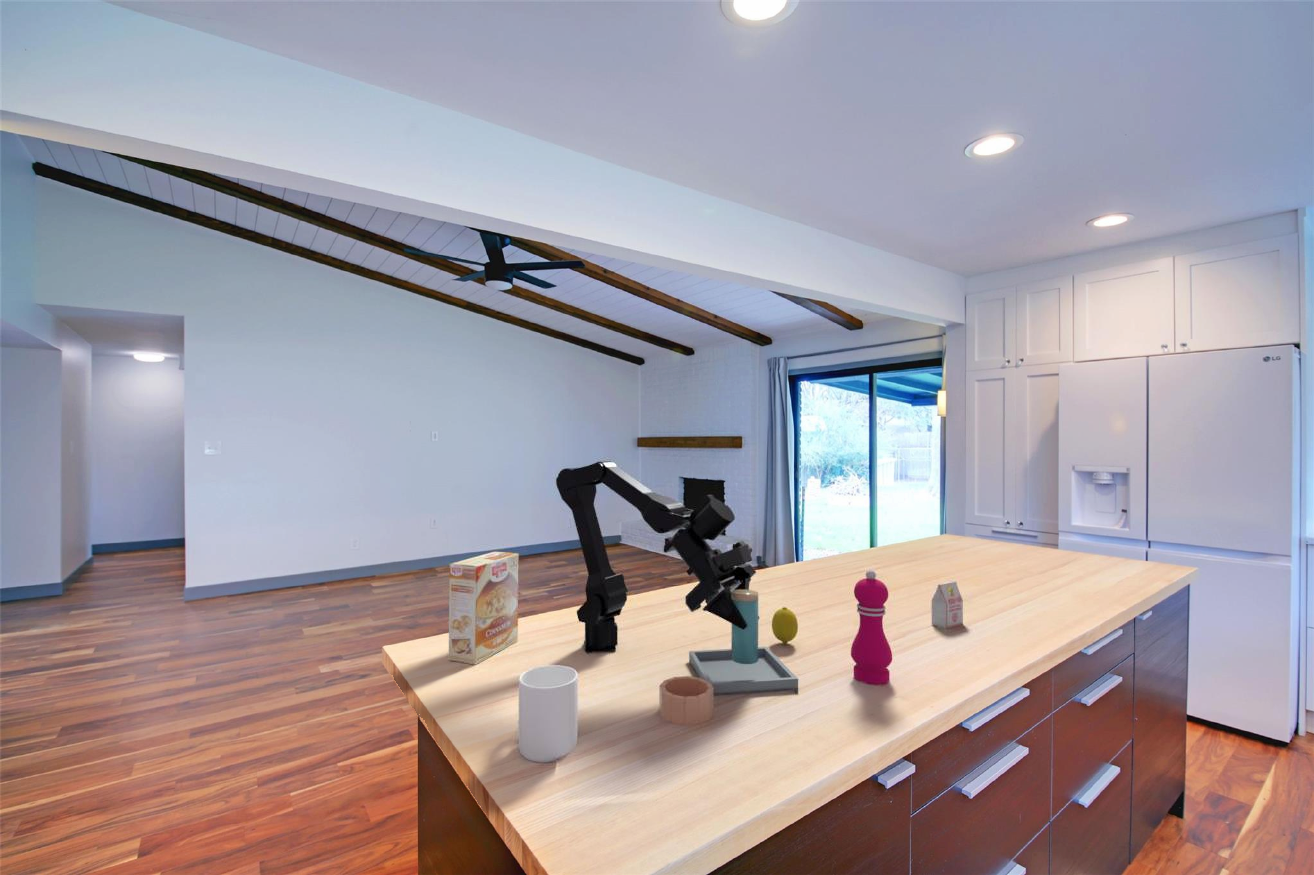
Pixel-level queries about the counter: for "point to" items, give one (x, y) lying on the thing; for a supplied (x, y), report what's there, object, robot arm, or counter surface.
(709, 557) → the robot arm
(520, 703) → the mug
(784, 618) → the lemon
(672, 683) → the terracotta cup
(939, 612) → the milk carton
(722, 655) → the tray
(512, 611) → the coffeecake box
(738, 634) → the spice jar
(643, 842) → the counter surface
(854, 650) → the pepper mill
